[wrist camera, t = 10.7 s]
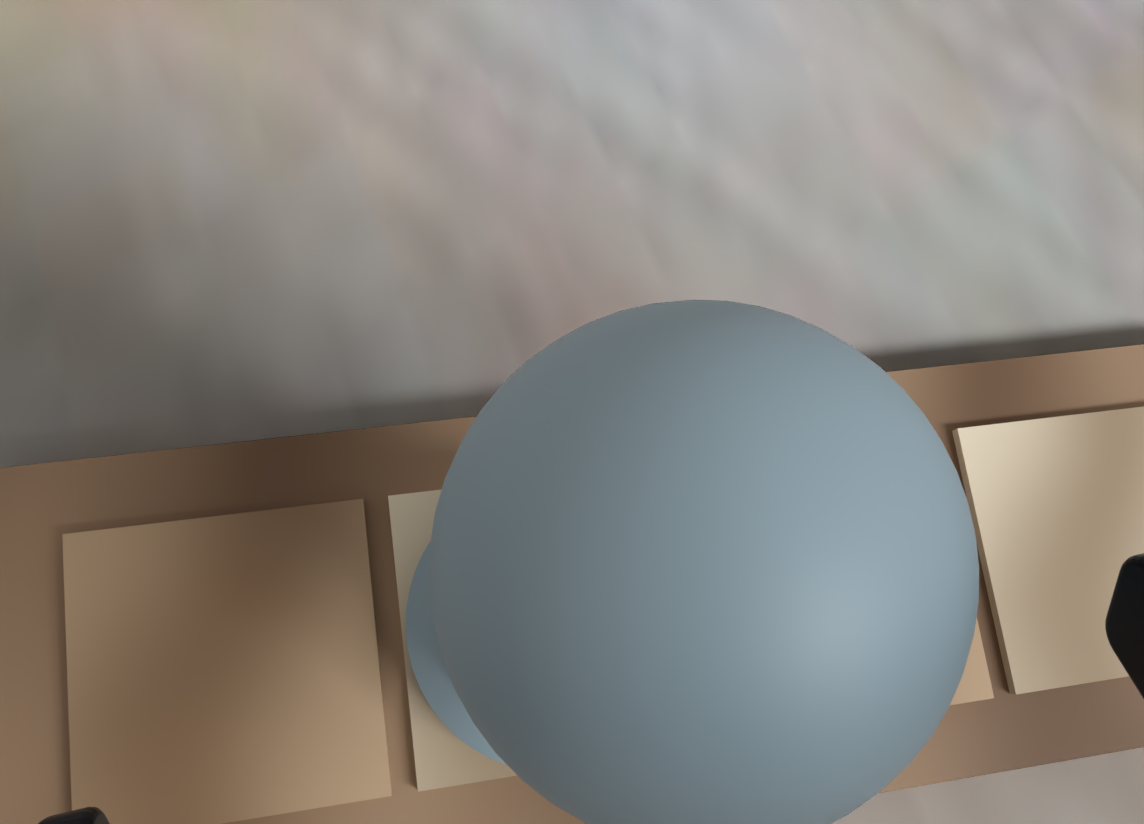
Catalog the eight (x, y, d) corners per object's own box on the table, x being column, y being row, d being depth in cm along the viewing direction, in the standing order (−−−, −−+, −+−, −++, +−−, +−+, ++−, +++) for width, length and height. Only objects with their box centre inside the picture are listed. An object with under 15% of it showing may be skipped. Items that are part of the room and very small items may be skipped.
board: (1190, 347, 20) (1228, 332, 19) (1290, 712, 19) (1337, 715, 18) (5, 477, 17) (-22, 467, 16) (15, 932, 15) (-14, 951, 14)
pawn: (634, 802, 16) (1104, 1134, 5) (366, 712, 16) (193, 839, 5) (711, 536, 17) (1231, 297, 6) (462, 450, 17) (514, 32, 6)
